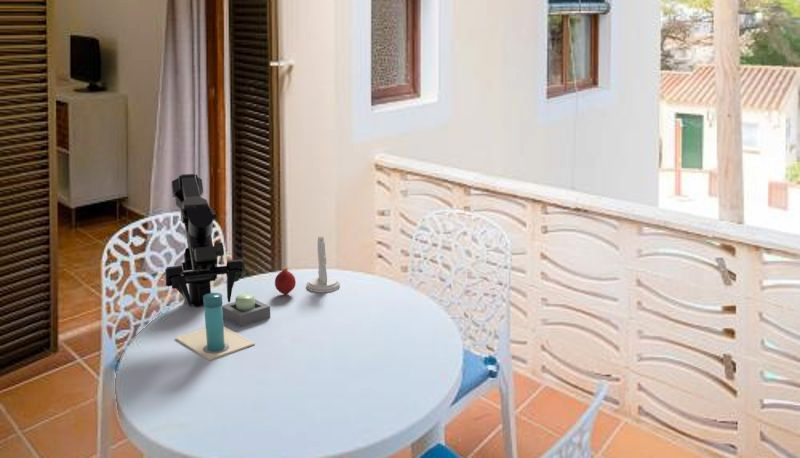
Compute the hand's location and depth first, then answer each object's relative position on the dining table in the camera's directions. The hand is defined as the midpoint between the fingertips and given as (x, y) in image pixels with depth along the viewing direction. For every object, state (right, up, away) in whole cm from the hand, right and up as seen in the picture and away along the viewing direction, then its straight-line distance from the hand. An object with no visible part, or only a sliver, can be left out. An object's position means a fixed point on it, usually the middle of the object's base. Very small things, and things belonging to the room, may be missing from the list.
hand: (210, 304), depth 170 cm
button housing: (+6, -5, +14) cm, 16 cm away
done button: (+6, -3, +14) cm, 15 cm away
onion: (+13, -1, +30) cm, 33 cm away
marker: (+3, -10, -5) cm, 11 cm away
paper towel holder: (+23, +1, +37) cm, 44 cm away
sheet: (+1, -9, -1) cm, 9 cm away
